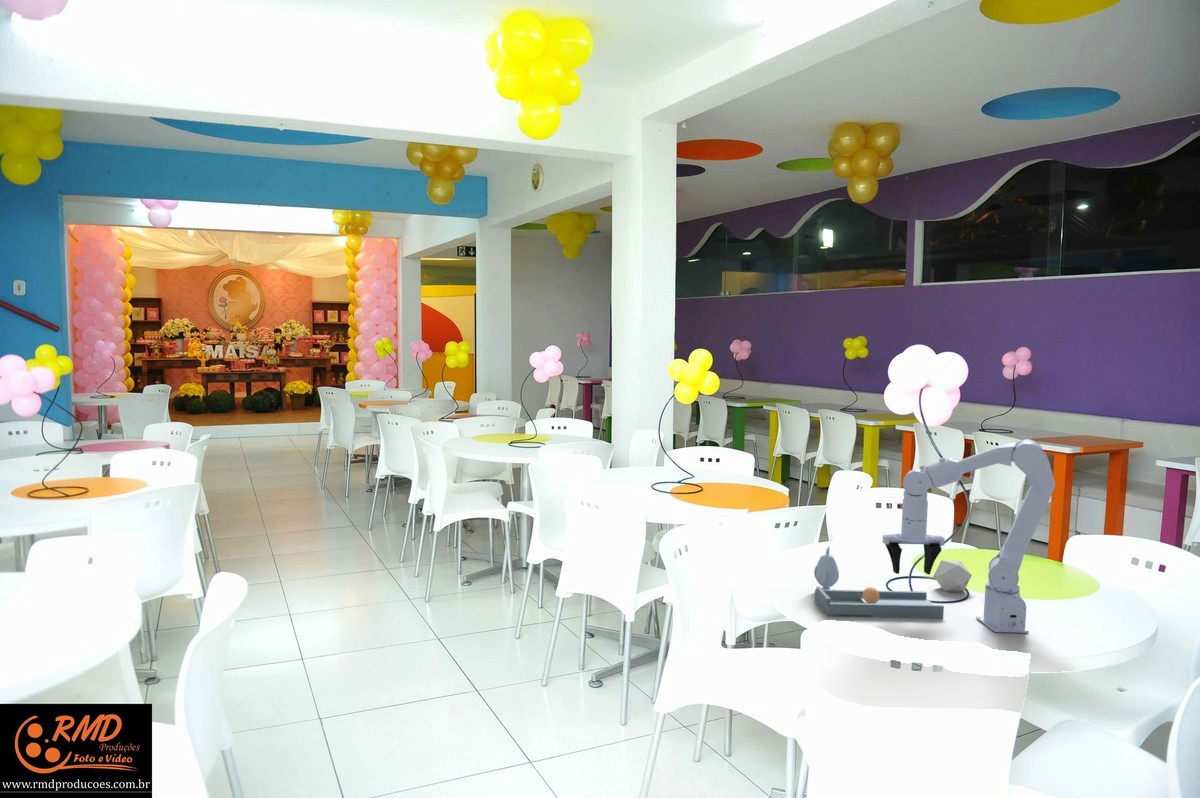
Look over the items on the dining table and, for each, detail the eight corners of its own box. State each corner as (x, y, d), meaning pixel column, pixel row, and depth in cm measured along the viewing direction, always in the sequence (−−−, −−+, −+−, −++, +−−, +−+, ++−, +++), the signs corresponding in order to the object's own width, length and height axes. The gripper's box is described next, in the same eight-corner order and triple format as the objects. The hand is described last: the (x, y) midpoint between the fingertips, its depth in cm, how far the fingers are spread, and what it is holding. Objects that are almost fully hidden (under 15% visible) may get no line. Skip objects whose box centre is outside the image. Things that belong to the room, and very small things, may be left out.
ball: (868, 587, 196) (863, 602, 196) (884, 592, 196) (878, 608, 196) (863, 583, 200) (858, 598, 200) (878, 588, 200) (873, 603, 200)
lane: (943, 618, 193) (944, 602, 193) (826, 616, 193) (827, 599, 193) (924, 603, 204) (925, 587, 204) (814, 601, 204) (815, 585, 204)
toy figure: (816, 584, 217) (818, 541, 216) (840, 588, 215) (842, 544, 214) (810, 595, 208) (812, 550, 207) (835, 599, 205) (837, 553, 204)
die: (966, 599, 210) (981, 568, 212) (936, 581, 211) (952, 550, 213) (952, 600, 217) (967, 570, 220) (923, 583, 219) (939, 553, 221)
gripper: (937, 515, 201) (934, 568, 202) (879, 514, 201) (876, 567, 202) (949, 522, 194) (946, 577, 195) (889, 520, 194) (886, 576, 195)
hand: (911, 572), depth 198 cm, fingers open, 7 cm apart
